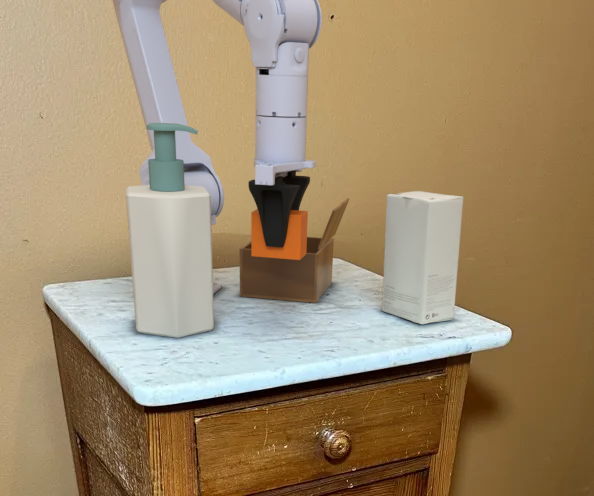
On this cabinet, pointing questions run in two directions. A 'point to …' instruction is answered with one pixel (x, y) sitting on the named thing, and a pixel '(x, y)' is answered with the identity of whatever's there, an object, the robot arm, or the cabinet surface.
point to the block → (293, 243)
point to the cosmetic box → (421, 255)
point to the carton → (287, 274)
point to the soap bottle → (170, 245)
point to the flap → (333, 223)
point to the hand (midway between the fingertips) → (279, 243)
